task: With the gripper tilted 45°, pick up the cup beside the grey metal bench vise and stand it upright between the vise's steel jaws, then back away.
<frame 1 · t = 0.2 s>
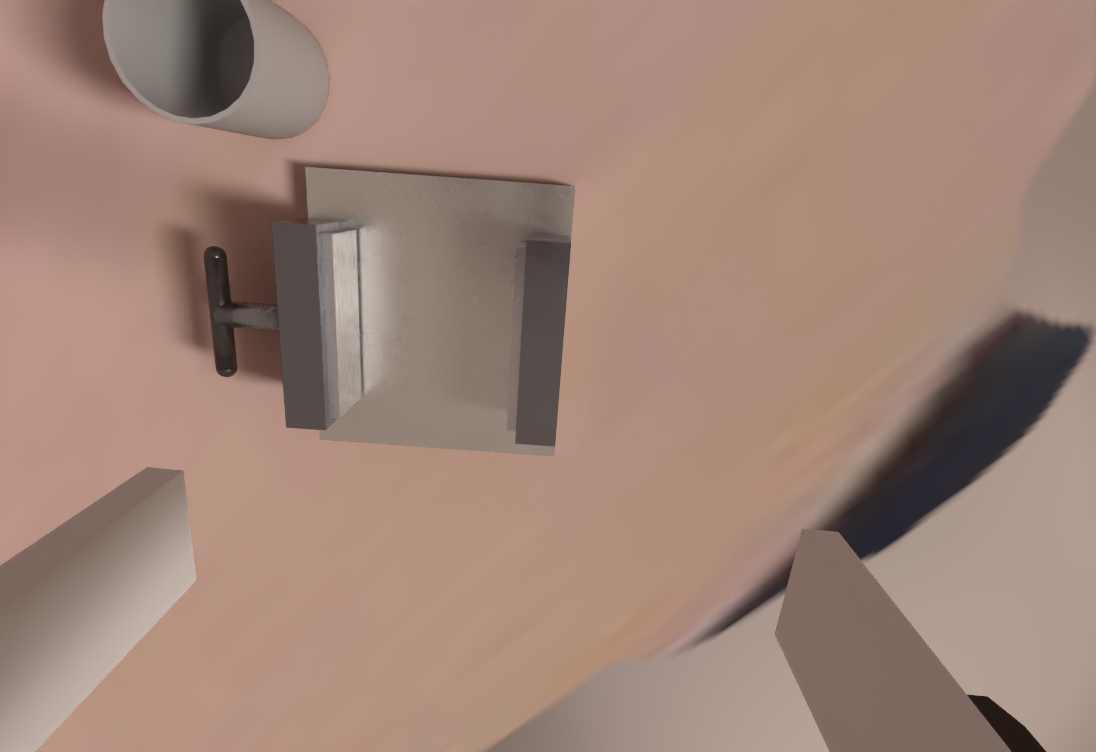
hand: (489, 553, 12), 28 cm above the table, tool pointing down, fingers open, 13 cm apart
cup: (257, 58, 35), on the table
vise: (442, 317, 39), on the table
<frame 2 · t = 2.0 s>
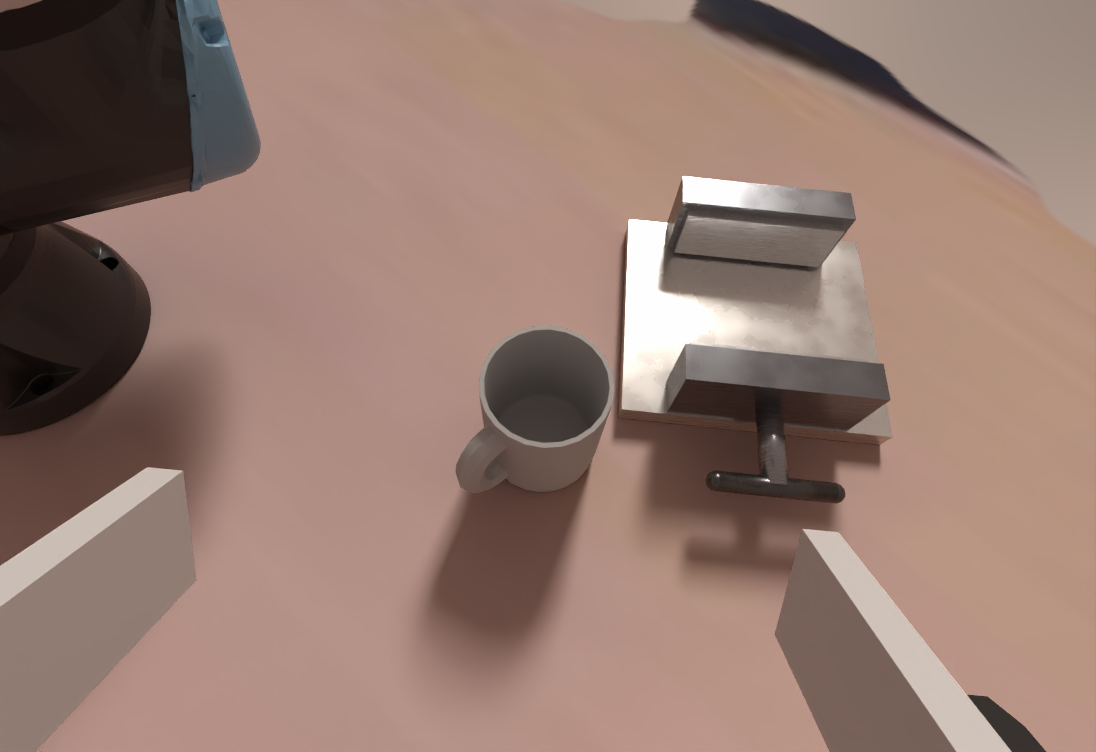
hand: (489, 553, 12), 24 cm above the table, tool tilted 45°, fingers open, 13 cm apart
cup: (525, 455, 38), on the table
vise: (742, 329, 43), on the table
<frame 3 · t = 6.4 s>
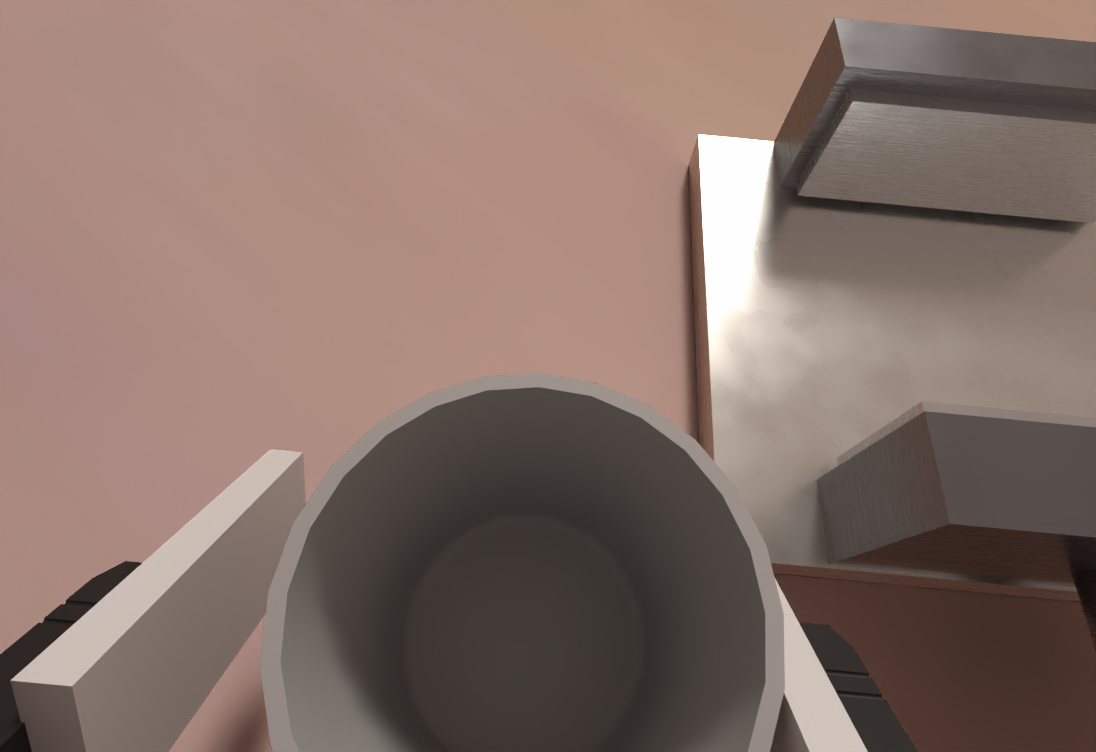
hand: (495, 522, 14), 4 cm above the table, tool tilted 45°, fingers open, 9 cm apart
cup: (486, 672, 16), on the table, touching gripper
vise: (944, 352, 21), on the table
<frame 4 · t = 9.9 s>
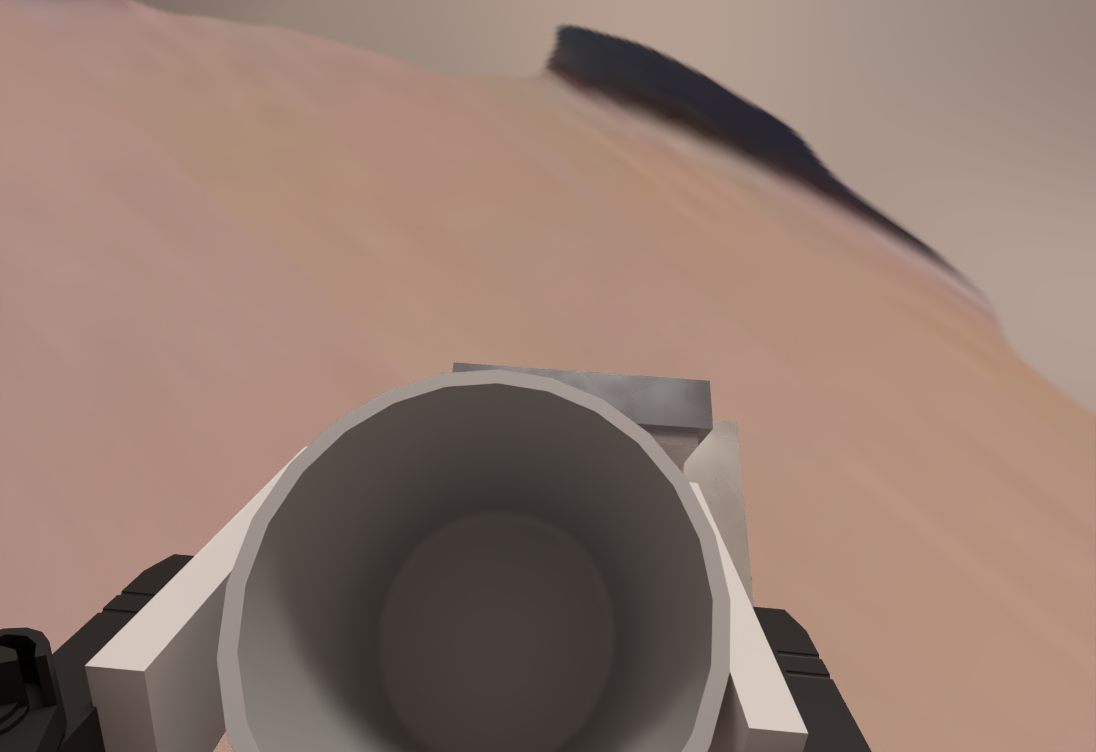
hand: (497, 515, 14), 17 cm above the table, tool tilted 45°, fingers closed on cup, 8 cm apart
cup: (460, 667, 16), point 13 cm above the table, touching gripper
vise: (564, 571, 29), on the table
when the fingers open (6 cm above the table, at t = 13.3 s): cup stays where it is, resting on vise.
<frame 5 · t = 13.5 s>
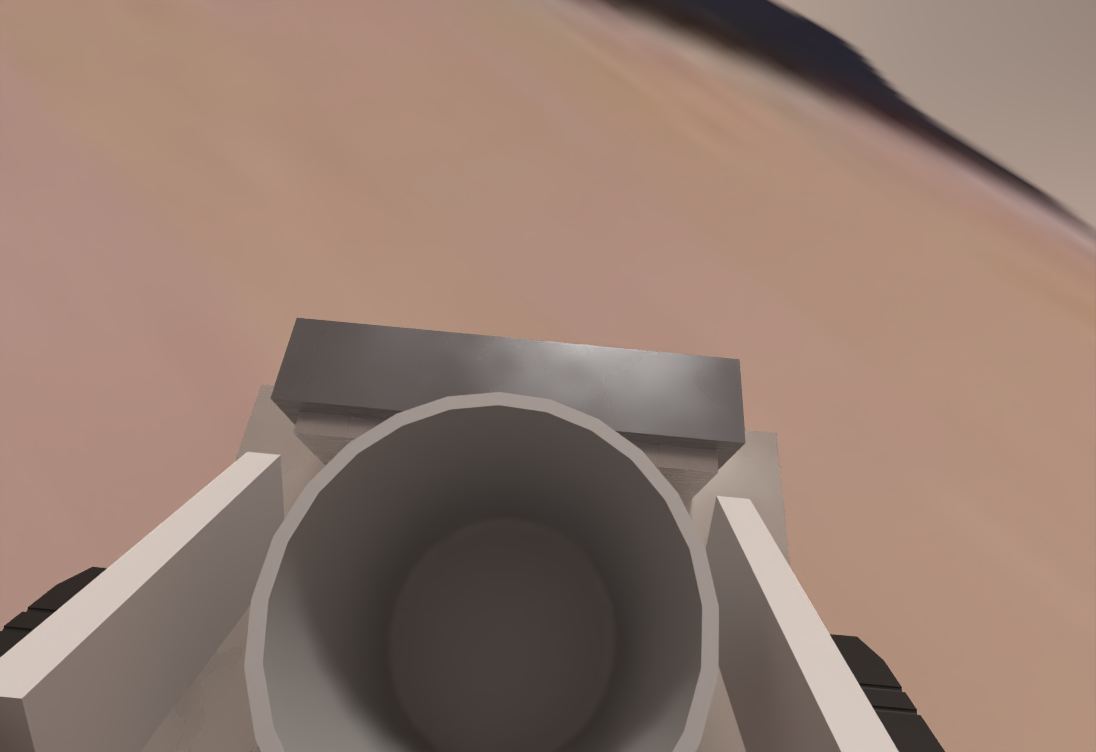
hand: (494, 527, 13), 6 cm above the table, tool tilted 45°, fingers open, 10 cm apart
cup: (467, 670, 17), point 1 cm above the table, touching vise
vise: (490, 672, 18), on the table
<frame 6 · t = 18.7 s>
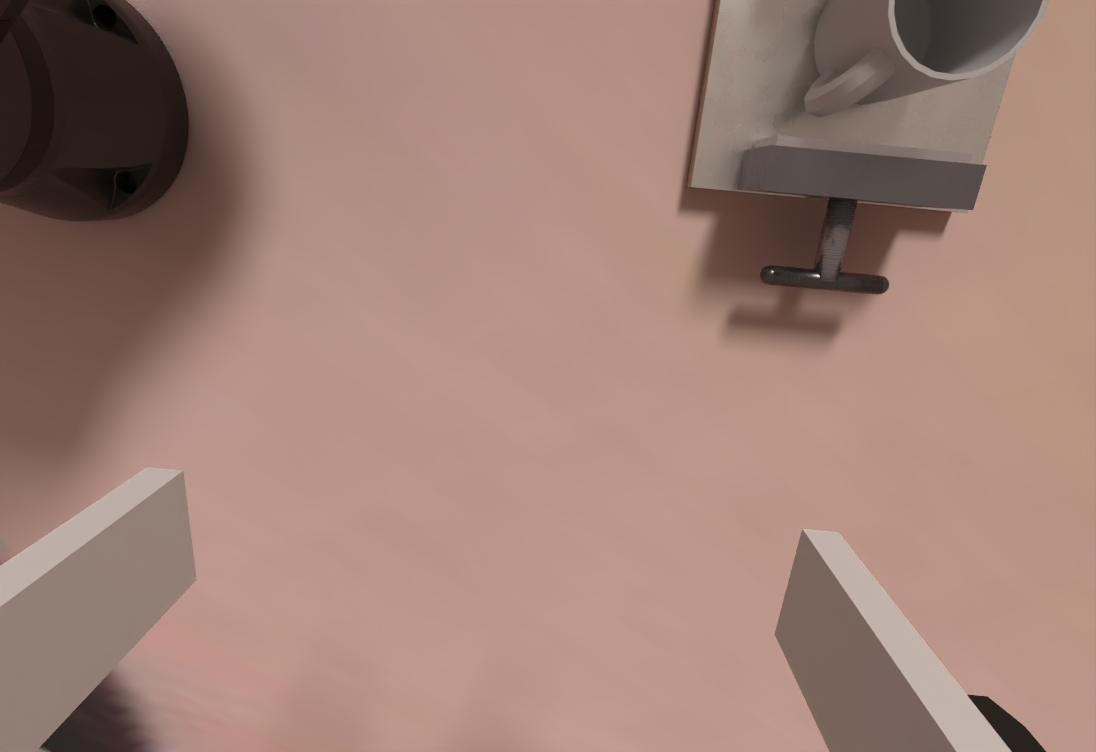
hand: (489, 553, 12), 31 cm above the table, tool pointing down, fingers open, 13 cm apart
cup: (850, 58, 35), point 1 cm above the table, touching vise
vise: (850, 63, 36), on the table
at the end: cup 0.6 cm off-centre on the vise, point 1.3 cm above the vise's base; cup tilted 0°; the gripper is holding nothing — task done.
